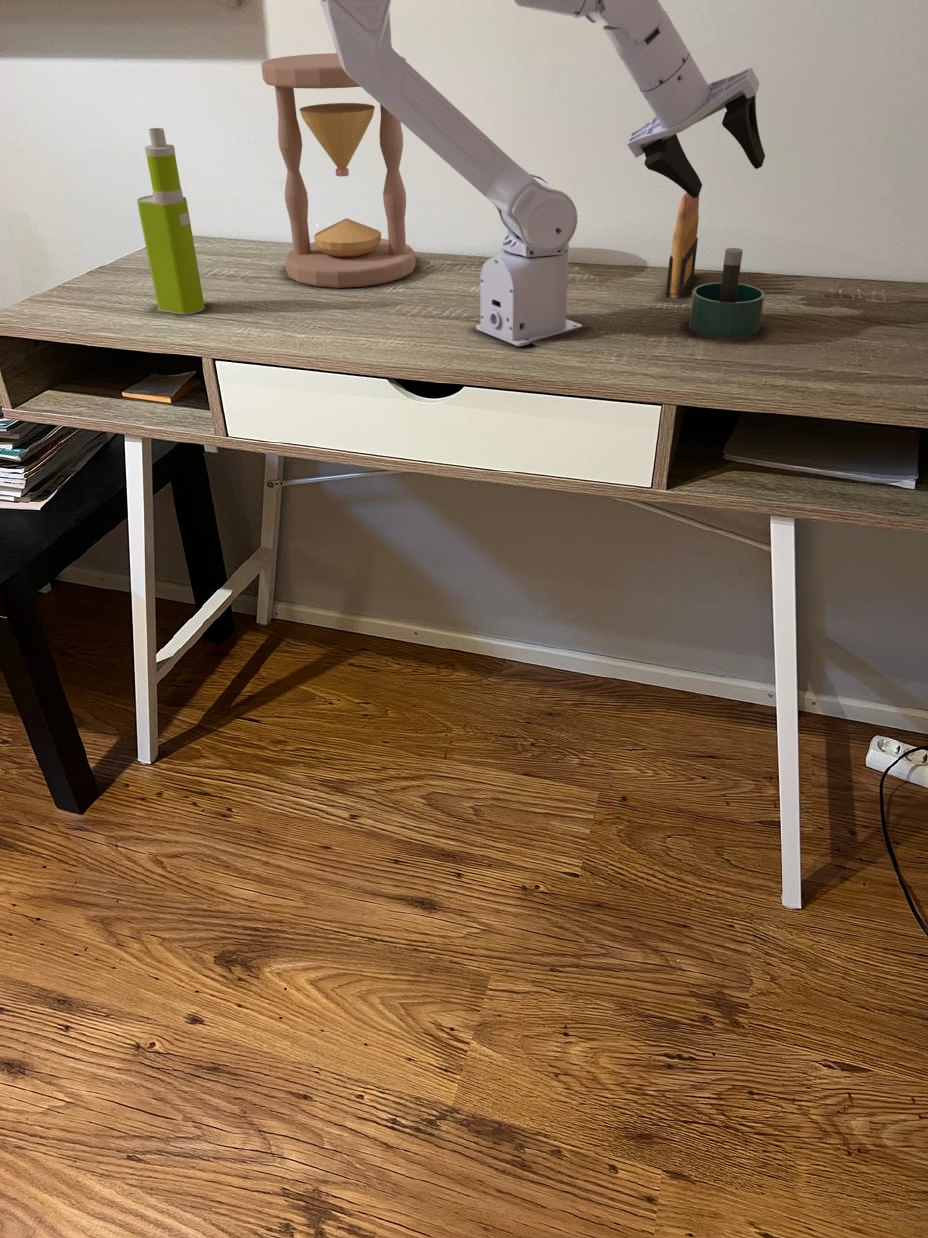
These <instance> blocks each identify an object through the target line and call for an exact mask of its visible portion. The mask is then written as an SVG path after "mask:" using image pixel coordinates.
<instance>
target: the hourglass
mask: <svg viewBox="0 0 928 1238" xmlns="http://www.w3.org/2000/svg"><path fill="white" fill-rule="evenodd" d="M400 56H401V55H400ZM401 57H402V58H403V59H404V60H405V61H406V62H407V58H406V57H404V56H401ZM260 65H261V67H260V68H261V76H262V80H263V82H264V83H265V84H266V85H268V86H272V87H274V91H275V101H276V108H277V117H278V118H277V141H278V147H279V151H280V153H281V156H282V159H283V162H284V165H285V168H286V170H287V172H286V178H285V187H284V200H285V206H286V210H287V215H288V218H289V223H290V231H291V232H290V233H291V240H292V247H293V249H290V251H289V252H288V253H286V255H285V256H284V265H285V266H284V267H285V272H286V274H287V276H288V277H289V279H291V280H294V281H295V282H298V283H299V284H304V285H309V286H314V287H319V288H320V287H321V288H337V289H338V288H339V289H343V288H363V287H369V286H376V285H383V284H387V283H390V282H391V283H392V282H394V281H398V280H402V279H403V278H404V277H407V276H408V275H410V274H412V273H413V271H414V269H415V267H416V264H417V263H416V262H417V261H416V251H415V250H414V249H413V248H412V247H411V246H410V245H409V244H407V243H406V223H405V219H406V210H407V193H406V189H405V185H404V181H403V178H402V175H401V172H400V166H401V160H402V155H403V150H404V134H403V129H402V123H401V122H400V121H399V120H398V119H397V118H396V117H395V116H393V115H392V114H391V113H390V112H389V111H388V110H387V109H385V108H384V107H383V106H382V105H381V104H380V103H379V106H380V108H379V109H380V122H379V135H378V136H379V148H380V150H381V154H382V157H383V161H384V164H385V167H386V174H385V180H384V185H383V192H382V201H383V207H384V212H385V217H386V223H387V224H386V225H387V239H386V238H382V232H381V231H380V229H379V230H378V229H376V228H374V227H371V226H369V225H365V224H363V223H360V222H358V221H355V220H352V219H350V218H347V217H346V218H344V219H342V220H339V221H338V222H336V223H334V224H332V225H330V226H328V227H326V228H323V229H322V230H319V231H318V232H316V233H315V234H314V235H313V238H314V242H311V241H310V231H309V221H308V217H309V197H308V191H307V187H306V184H305V181H304V180H303V176H302V173H301V171H300V165H301V160H302V159H301V158H302V151H303V140H302V139H303V138H302V134H301V128H300V124H299V121H298V117H297V107H296V97H295V89H318V90H319V89H321V90H322V89H349V88H362V87H361V86H359V85H358V84H357V83H356V82H355V81H354V80H353V79H351V78H350V77H349V76H348V75H347V74H346V72H345V71H344V70H343V68H342V67H341V64H340V61H339V58H338V55H337V52H333V53H332V52H331V53H329V52H328V53H313V54H298V55H287V56H280V57H274V58H270V59H266V60H265V61H262V62H261V64H260ZM375 108H376V106H375V105H373V104H370V103H369V104H368V103H358V102H331V103H319V104H312V105H306V106H303V107H301V108H299V110H298V111H299V113H300V115H301V117H302V120H303V121H304V123H305V125H306V126H307V128H308V129H309V130H310V131H311V133H312V134H313V136H314V138H315V140H317V142H318V143H319V144H320V146H321V147H322V149H323V150H324V151H325V153H326V154H327V155H328V157H329V158H330V160H331V161H332V163H334V165H335V166H336V168H335V176H336V177H348V176H349V174H350V172H349V168H348V166H349V164H350V162H351V160H352V159H353V156H354V154H355V153H356V151H357V150H358V147H359V145H360V143H361V141H362V140H363V137H364V135H365V133H366V131H367V129H368V128H369V126H370V124H371V121H372V119H373V118H374V114H375V113H374V112H375Z"/></svg>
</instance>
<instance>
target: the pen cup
mask: <svg viewBox="0 0 928 1238" xmlns="http://www.w3.org/2000/svg"><path fill="white" fill-rule="evenodd" d="M720 289H721V282H709V283H703V284H699V285H698V286H695V287H694V288H693V289H692V292H691V299H690V308H689V317H688V327H689V328H690V329H691V330H692V331H694V332H696V333H698V334H701V335H705V336H709V337H715V338H723V339H724V338H728V339H729V338H730V339H732V338H734V339H735V338H744V337H749V336H752V335H755V334H757V333H758V332H759V331H760V329H761V324H762V317H763V313H764V312H763V310H764V304H765V298H766V293H765V292H764V290H762V289H760V288H759V287H757V286H753V285H750V284H745V283H740V282H738V289H737V296H736V302H721V301H719V297H720Z"/></svg>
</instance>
